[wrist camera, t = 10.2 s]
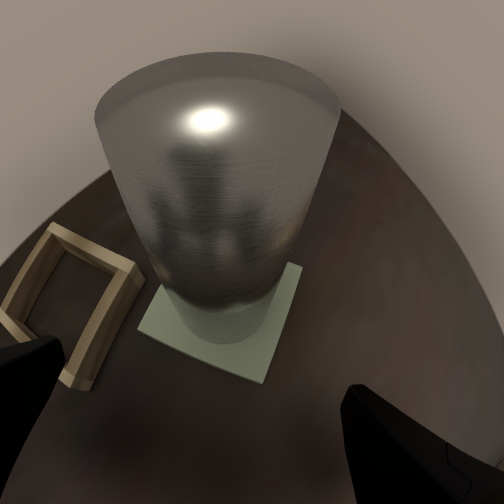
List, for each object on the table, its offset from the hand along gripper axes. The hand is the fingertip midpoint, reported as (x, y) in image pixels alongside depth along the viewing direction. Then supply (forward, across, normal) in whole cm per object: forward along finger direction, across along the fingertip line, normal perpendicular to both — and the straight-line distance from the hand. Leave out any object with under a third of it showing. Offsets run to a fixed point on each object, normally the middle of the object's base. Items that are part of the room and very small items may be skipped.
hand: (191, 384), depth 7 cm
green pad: (+10, 0, +2) cm, 11 cm away
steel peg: (+10, 0, +1) cm, 10 cm away
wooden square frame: (+9, +11, +4) cm, 15 cm away
